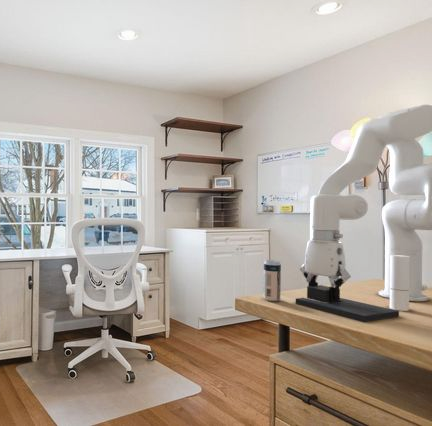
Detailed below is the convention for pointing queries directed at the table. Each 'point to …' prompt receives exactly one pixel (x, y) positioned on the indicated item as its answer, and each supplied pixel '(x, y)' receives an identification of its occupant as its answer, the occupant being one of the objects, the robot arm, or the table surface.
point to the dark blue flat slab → (351, 309)
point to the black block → (319, 293)
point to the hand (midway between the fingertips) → (323, 297)
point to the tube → (399, 282)
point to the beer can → (272, 280)
